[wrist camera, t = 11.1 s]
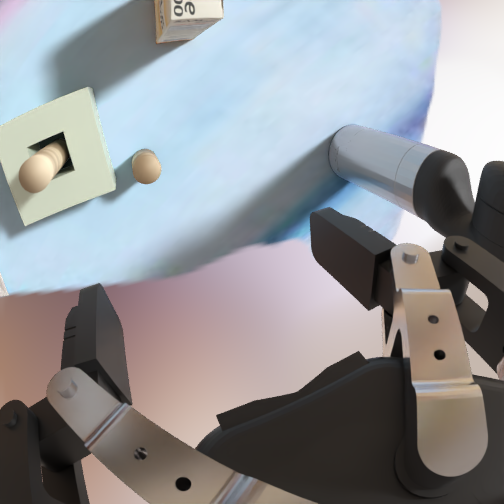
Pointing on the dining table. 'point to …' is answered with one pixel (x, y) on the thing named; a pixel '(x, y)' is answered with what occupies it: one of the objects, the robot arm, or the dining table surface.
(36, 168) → the long dowel
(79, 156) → the hole block
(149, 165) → the short dowel
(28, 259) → the dining table surface
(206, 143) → the dining table surface
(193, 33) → the supplement box
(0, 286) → the dessert
